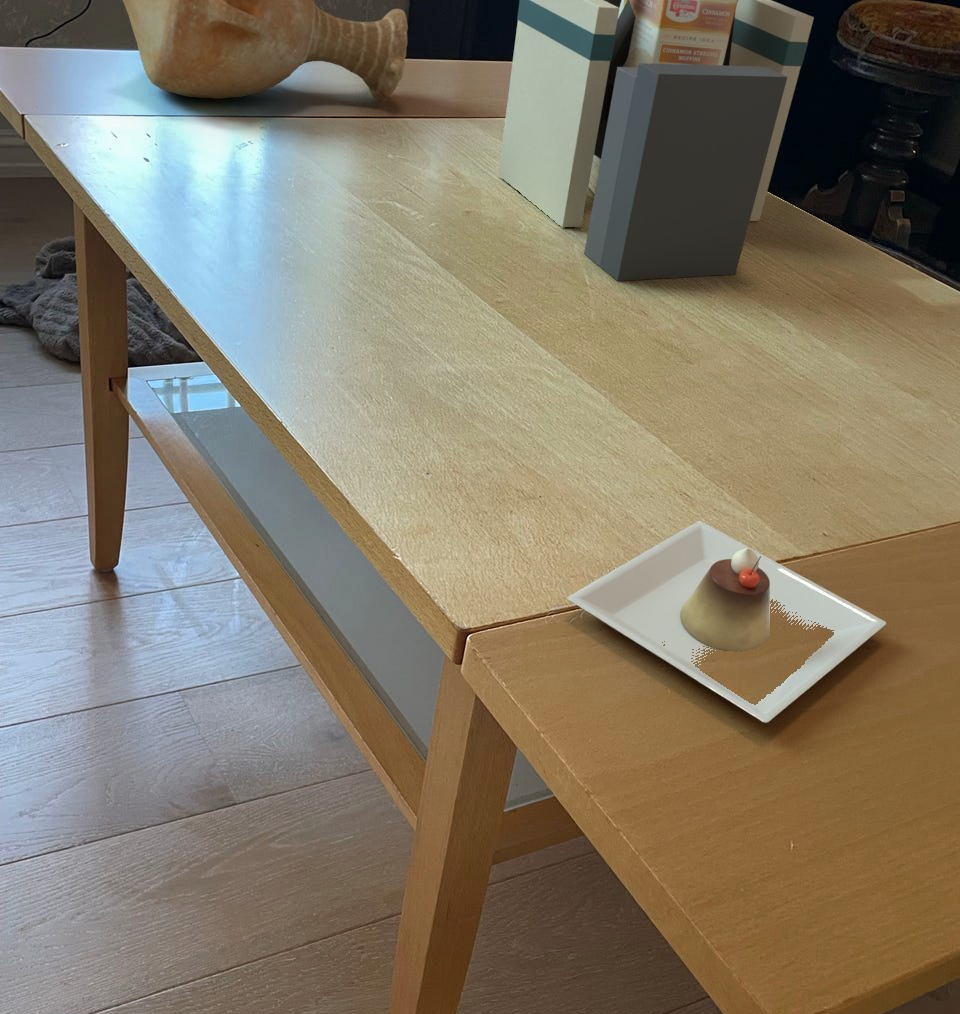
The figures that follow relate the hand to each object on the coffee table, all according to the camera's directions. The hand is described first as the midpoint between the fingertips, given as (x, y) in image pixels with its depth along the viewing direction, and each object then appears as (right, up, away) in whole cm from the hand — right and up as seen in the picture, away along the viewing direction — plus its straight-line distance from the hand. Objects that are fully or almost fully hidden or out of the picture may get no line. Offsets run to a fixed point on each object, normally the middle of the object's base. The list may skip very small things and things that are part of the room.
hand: (636, 154), depth 111 cm
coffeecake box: (-1, -3, +3) cm, 4 cm away
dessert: (-3, -46, -51) cm, 69 cm away
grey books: (+1, -14, -11) cm, 18 cm away
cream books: (-1, -3, +3) cm, 4 cm away
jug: (-38, +12, +15) cm, 43 cm away
